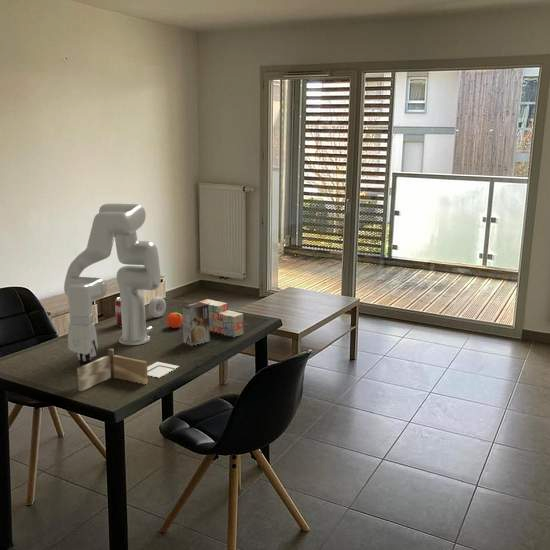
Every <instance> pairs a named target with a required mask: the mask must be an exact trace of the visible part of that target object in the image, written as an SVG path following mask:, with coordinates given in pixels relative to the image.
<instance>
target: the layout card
mask: <svg viewBox="0 0 550 550" xmlns="http://www.w3.org/2000/svg"><path fill="white" fill-rule="evenodd" d="M178 367H179V368H180V366H179V365H176V364H175V365H174V364H170V363H165V362H160V361H156V362H154V363H152V364H150V365H147V373H148V377H151V376H152V377H151V378H155V377H157V378H156V379H160V377H161V378H162V376H163V377H164V376H166V375H168V374H170V373H172V372H173V371H175V370H177V369H178ZM176 368H177V369H176ZM171 371H172V372H171ZM169 372H170V373H169Z"/></svg>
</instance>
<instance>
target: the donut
mask: <svg viewBox="0 0 550 550" xmlns="http://www.w3.org/2000/svg"><path fill="white" fill-rule="evenodd" d="M157 305H158V309H156V307H157ZM166 308H167V304H166V301H165V298H163V297H161V296H155V297H152V298H151V299H150V301H149V304H148V313H149V315H150V316H151V317H152V318H154V319H155V318H157V317H158V318H161V317H162V316H163V315H164V314H165V312H166Z"/></svg>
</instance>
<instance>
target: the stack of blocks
mask: <svg viewBox="0 0 550 550" xmlns="http://www.w3.org/2000/svg"><path fill="white" fill-rule="evenodd" d="M199 302H202V303H205V304H208V308H209V330H210V331H209V332H211V331H214V332H213V333H215V332H217V333H216V334H219V333H221V334H220V335H223V334H224V335H223V336H226V335H227V337H230V336H231V338H237V337H240V336H242V335H244V313H242V312H237V311H233V310H229V308H228V307H229V305H228V303H227V302H224V301H217V300H213V299H209V298H207V299H204V300H200V301H199ZM236 336H237V337H236Z"/></svg>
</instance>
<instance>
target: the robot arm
mask: <svg viewBox="0 0 550 550" xmlns="http://www.w3.org/2000/svg"><path fill="white" fill-rule="evenodd" d="M146 213H147V212H146V209H145V208H144V207H143V205H141V204H136V203H104V204H102V205H101V206H100V207H99V210H98V213H96V215H94V218H93V221H92V225H91V228H90V232H89V235H88V241H87V244H86V248H85V249H84V250H83V251H81V252H80V253H79V254H78V255H77V256H76V257H75V258H74V259H73V261H71V263H70V264H69V266H68V269H67V272H66V275H65V280H64V285H63V291H64V294H65V296H67V299H68V301H67V302H68V312H69V323H68V327H67V328H68V329H67V346H68V349H69V351H72V352H73V353H74V354H76V355H77V359H78V360H79V367H81V366H84V365H86V364H88V363H91V359H92V358H94V357H97V351H98V347H99V345H98V336H97V331H96V330H97V329H96V326H95V323H94V312H93V311H94V310H93V309H94V308H93V302H94V301H99V300H101V299H103V298H104V297H105V296H106V295H107V293H108V288H109V286H108V283H107V281H106V280H105V279H103V278H101V277H92V276H91V277H88V276H81V274H82V272H83V271H85V269H87V268H88V267H90V266H91V265H94V264H97V263H98V262H101V261H103V260H107V258H109V257H110V256H111V255H112V254H111V253H112V250H113V245H114V242H115V248H116V249H115V250H116V255H117V259H118V262H119V263H120V264H122V265H124V266H122V267H120V268H119V269H117V272H116V282H117V286H118V290H119V298H120V300H121V316H122V327H121V328H122V329H121V330H122V331H121V333H122V335H121V336H120V337H119V338H118V342H119V343H120V344H122V345H125V346H138V345H139V346H140V345H143V344H147V343H148V342H150V341H151V336H150V335H149V334H148V333H149V332H151V331H153V327H152V326H151V325H150V326H147V323H146V308H145V307H146V305H145V297H144V295H143V293H142V292H141V291H142V290H143V291H154V290H157V289H158V288H160V287H161V286H160V285H161V281H162V280H161V278H162V276H161V267H160V266H161V265H160V259H159V251H158V248H157V246H156V244H155V243H154V242H152V241H148V240H146V241H145V240H139V239H138V235H137V230H139V229H140V228H141V227H142V226H143V224H144V223H145V221H146V217H147V214H146ZM114 240H115V241H114ZM125 265H126V266H125ZM140 290H141V291H140Z"/></svg>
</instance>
